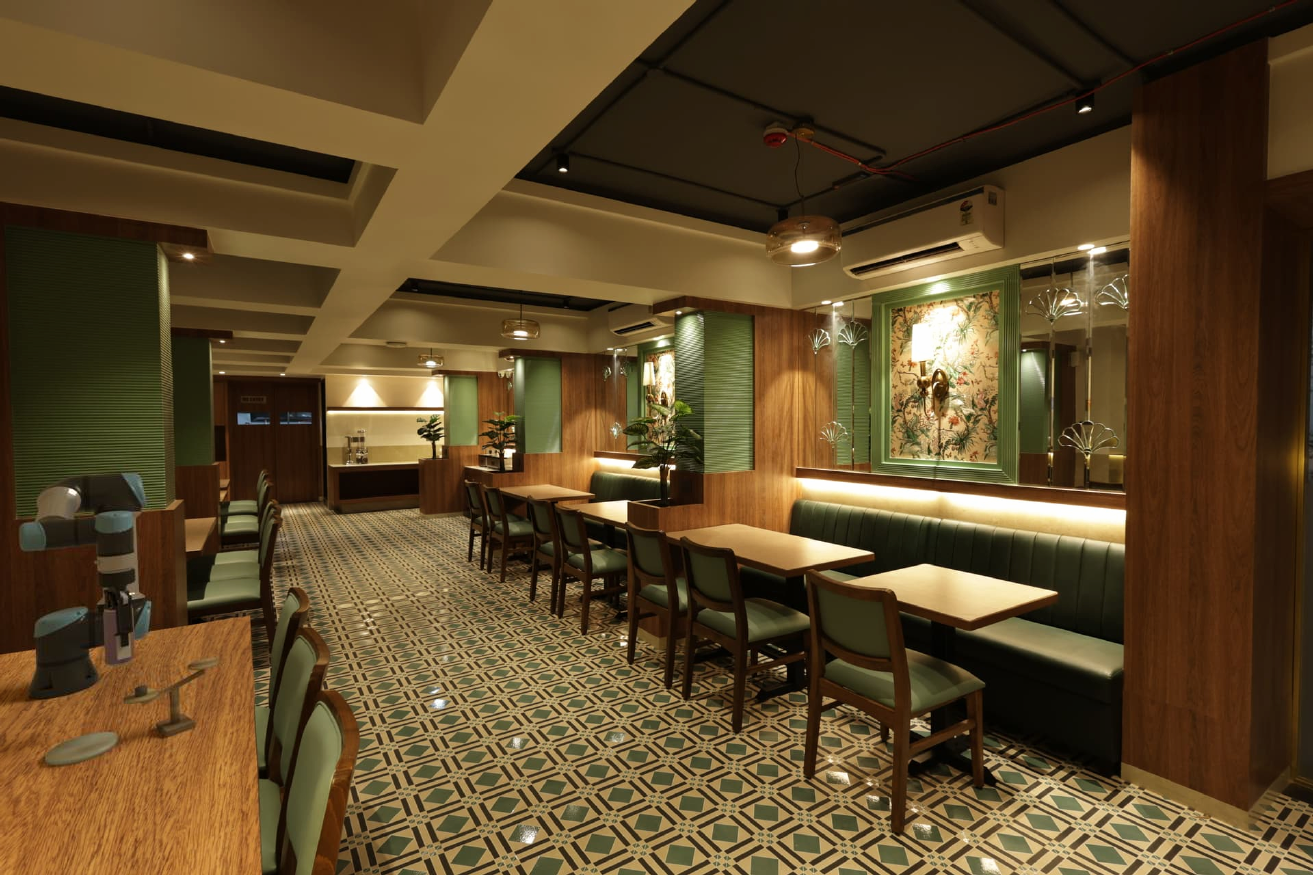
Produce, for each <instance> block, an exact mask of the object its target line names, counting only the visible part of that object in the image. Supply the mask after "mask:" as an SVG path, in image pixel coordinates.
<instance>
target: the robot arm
mask: <svg viewBox="0 0 1313 875" xmlns="http://www.w3.org/2000/svg"><path fill="white" fill-rule="evenodd" d="M147 506H148V504H147V499H146V493H145V488H144V484H143V481H142V478H141V475H139V474H138V473H135V472H134V473H133V472H130V473H129V472H127V473H126V472H118V473H106V474H105V473H104V474H103V473H101V474H89V475H88V474H87V475H82V474H81V475H74V476H70V477H66V478H64V479H60V480H58V481H55V482H53V483H52V484H50V485H48V486H46V487H45V488H44V489H43V490H42V491H41V492H40V493H39V495H38V496H37V499H36V508H37V509H38V511H37V515H36V517H35V520H33V521H32V522H31V521H30V522H24V523H22V524H21V525H20V526H19V531H18V533H19V535H18V537H19V547H20V549H21V551H23V552H34V551H40V552H42V551H45V550H47V551H48V550H55V549H65V548H72V547H73V548H74V547H85V546H91V545H92V546H93V545H96V559H97V560H96V559H95V560H94V561H93V562H94V565H97V571H98V573H97V586H98V587H99V588H101V589H102V597H101V599H100V600H99V601H98V602H97V604H96V606H97V607H96V608H97V609H91V610H89V609H88V606H83V605H82V606H73V607H69V608H65V609H61V610H60V609H59V610H57V611H54V612H52V613H49V614H47V615H44V616H42V617H41V618H39V619H38V620H37V621H36V622H35V625H34V634H33V637H34V641H35V642H34V644H35V662H36V663H35V665H36V666H35V667H36V668H35V671H34V673H33V676H32V679H31V681H30V683H29V687H28V695H29V698H32V699H49V698H50V699H51V698H56V697H57V698H58V697H61V696H66V695H69V694H74V693H77V692H80V691H82V690H85V689H89V688H90V687H91V686H94V685H95V684H96V683H97V682H99V672H98V670H97V669H96V667H95V664H94V663H93V660H92V659H91V656H90V650H92V649H96V648H101V647H105V644H104V620H103V613H104V609H105V608H107V607H109V608H110V607H112V610H115V612H116V625H117V634H114V636H116V645H117V660H120V659H124V658H128V657H131V641H130V633H131V632H133V622H132V608H133V620H134V641H137V640H142V639H144V638H146V636H147V635H148V633H149V629H150V628H149V627H150V620H151V609H152V601H151V600H146V595H144V594H143V593H141V592H140V586H139V566H138V565H139V564H138V562H139V561H138V545H137V544H138V540H137V538H138V537H137V517H139V516H140V515H141V514H142V508H146V507H147ZM87 512H88V513H89V512H93V516H88V517H77V518H75V513H87Z"/></svg>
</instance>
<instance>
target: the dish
mask: <svg viewBox="0 0 1313 875" xmlns="http://www.w3.org/2000/svg"><path fill="white" fill-rule="evenodd" d="M118 742H119V739H118V734H117V733H116V732H112V731H100V732H94V733H89V734H84V735H80V736H78V737H74V738H70V739H68V740H66V741H64V742H61V743H59V744H57V745H56V746H55V745H54V746H53V747H52V748H50V749H49V750H48V751H47V752H46V754H45V755H44V757H45V758H44V762H45V764H46V765H48V766H55V767H57V766H58V767H60V766H69V765H74V764H78V763H81V762H85V761H87V760H90V759H94V758H97V757H98V756H101V755H102V754H105V753H107V752H108V751H110V750H112V749H113V748H114V747H116V745H117V744H118Z"/></svg>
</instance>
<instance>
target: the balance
mask: <svg viewBox="0 0 1313 875" xmlns="http://www.w3.org/2000/svg"><path fill="white" fill-rule="evenodd" d="M220 660H221V659H220V658H218V657H207V658H201V659H198V660H194V661H192V662H190V663H188V665H187V670H188V671H196V672H194V673H193V674H190V675H189V676H187V677H185V678H182V679H181V680H179V681H177V682H174V684H171V685H169V686H168V687H166V688H164V689H162V690H159V689H157V688H148V685H146V684H143V685H139V686H136V687H135V688H134V692H131V693H129V694H127V695H126V696H124V697H123V698H122V703H123V704H126V705H132V704H133V705H135V704H141V706H143V707H144V706H147V705H149V704H151V703H153V702H154V701H156V700H159V699H160V698H162V697H164V696H165V695H168V697H169V716H170V718H166V719H163V720H159V721H157V722H155V729H156V730H158V732H160V733H161V734H162V735H163V736H165V737H166V738H169V737H172V736H174V735H178V734H179V733H183V732H186V731H188V730H192V729H194V728H195V727H196V721H195V720H193V719H192V718H190V717H189V716H187V715H186V714H185V713H181V709H180V687H182V686H184V685H186V684H188V683H190V682H192V681H194V680H196V679H198V678H199V677H201V676H203V675H205V674H206V672H205V671H206V670H207V669H210V668H214V667H216V666H218V665H219V664H220Z"/></svg>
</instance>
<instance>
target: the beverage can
mask: <svg viewBox="0 0 1313 875" xmlns="http://www.w3.org/2000/svg"><path fill="white" fill-rule="evenodd" d="M103 620H104V644H105V646H104V663H105V664H106V665H107V666H109V667H117V666H123V665H126V664H129V663H131V662H132V661H134V659H135V657H136V651H135V649H136V647H135V640H134V620H133V608H132V622H133V632H131V633H130V641H131V657H128V658H124V659H120V660H117V645H116V636H114V634H117V625H116V612H115V610H112V607H110V608H109V607H107V608H105V609H104V613H103Z"/></svg>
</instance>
